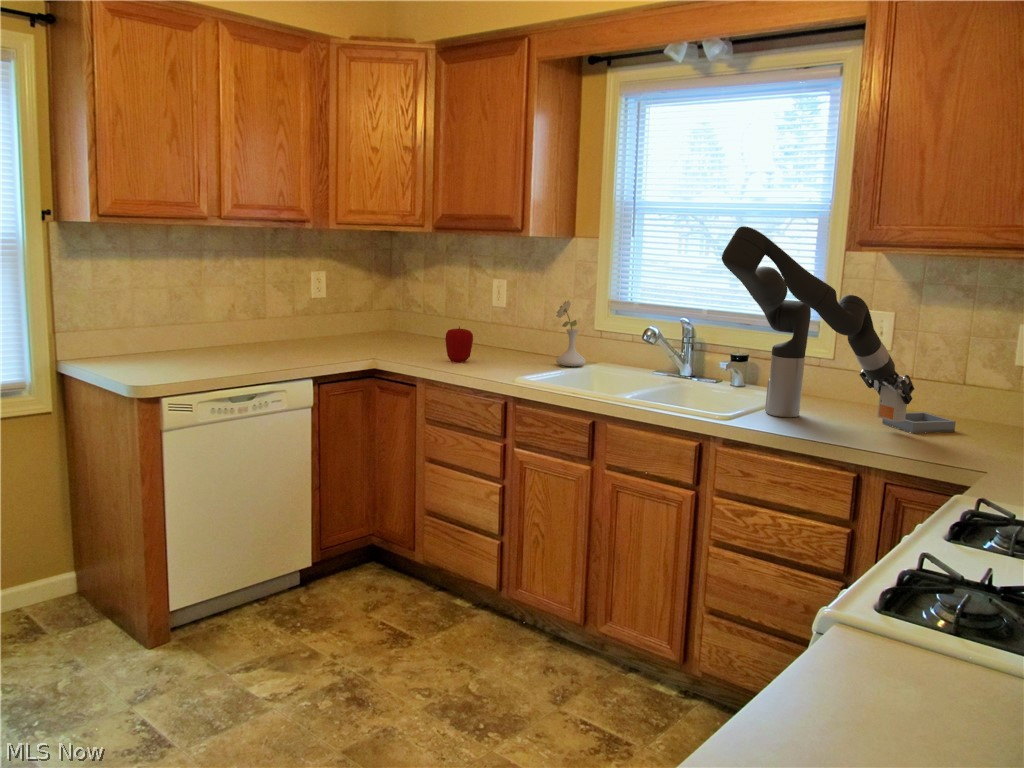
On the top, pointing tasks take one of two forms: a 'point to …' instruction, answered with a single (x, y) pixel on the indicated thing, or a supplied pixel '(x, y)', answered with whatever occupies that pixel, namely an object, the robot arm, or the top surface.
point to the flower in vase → (571, 354)
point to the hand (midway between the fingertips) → (897, 399)
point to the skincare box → (891, 404)
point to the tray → (923, 423)
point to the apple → (459, 344)
